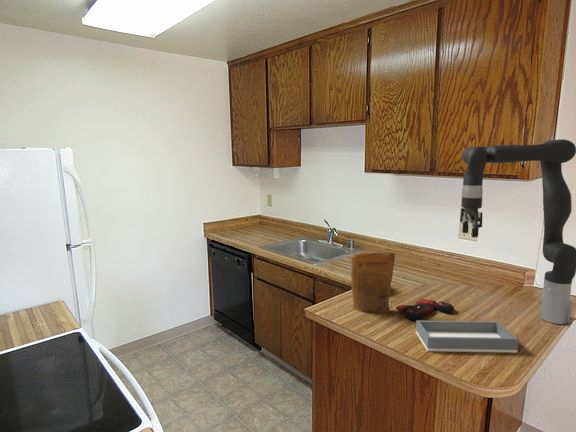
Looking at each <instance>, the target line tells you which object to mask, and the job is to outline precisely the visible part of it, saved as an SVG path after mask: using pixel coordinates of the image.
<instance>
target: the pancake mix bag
mask: <svg viewBox="0 0 576 432" xmlns="http://www.w3.org/2000/svg"><path fill="white" fill-rule="evenodd" d="M395 261H396V253H395V252H389V251H388V252H371V253H370V252H369V253H354V255H351V260H350V264H351V266H350V278H351V281H350V282H351V291H352V302H353V305H352V306H353V307H352V310H355V311H358V312H361V313H370V314H371V313H375V314H377V313H378V314H386V313H387V312H390V304H389V302H390V296H391V285H392V282H393V281H392V280H393V275H394V267H395Z"/></svg>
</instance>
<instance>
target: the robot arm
mask: <svg viewBox="0 0 576 432" xmlns="http://www.w3.org/2000/svg"><path fill="white" fill-rule="evenodd" d="M575 155H576V144H575V143H574V142H572V141H571V140H568V139H564V138H563V139H549V140H546V141H544V142H543V143H539V144H503V145H502V144H501V145H500V144H499V145H498V144H497V145H490V146H478V145H477V146H469V147H467V148H465V149H464V150H463V151H462V153H461V158H462V160H463V162H464V163H466V164H467V169H466V171H464V173H463V180H462V181H463V182H462V189H461V204H460V205H461V208H460V217H459V221H460V223H461V224H462V230H461V231H462V233H463V234H468V233H469V228H470V227H469V224H471V227H472V228H471V237H472V238H478V237H479V229H480V228H482V227H483V212H479V209H481V208H482V207H483V206H482V205H483V193H484V190H483V183H484V182H483V181H484V172H485V168H486V165H487V164H489V163H490V164H507V163H509V164H510V163H520V162H533V161H534V162H535V161H537V162H538V161H539V164H540V170H541V176H542V177H541V178H542V207H543V239H542V240H543V241H542V242H543V243H542V256H543V258H544V259H545V260H546V261H548V262H549V263H552V264H553V266H552V270H548V271H546V272H545V273H544V276H543V277H544V278H543V288H542V298H541V299H542V300H541V307H540V316H539V317H540V318H541V320H543V321H545V322H548V323H551V324H557V325H565V324H567V323H570V322H571V317H572V306H573V300H572V299H571V295H572V294H571V293H572V284H573V280H574V278H575V275H576V247H575V246H573V245H570V244H568V243H565V242H564V236H563V232H564V228H565V225H566V223H567V221H568V219H569V218H570V216H571V213H572V207H573V206H572V194H571V191H570V189H569V186H568V184H567V182H566V180H565V179H564V176H563V171H562V169H563V168H562V166H563V165H562V164H565V163H568V162H569V161H570V160H572V159H574V157H575Z"/></svg>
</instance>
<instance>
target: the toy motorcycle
mask: <svg viewBox="0 0 576 432" xmlns="http://www.w3.org/2000/svg"><path fill="white" fill-rule="evenodd" d="M395 309H396V310H397V311H398V312H400V313H401V312H403V311H404V315H405V317H406V318H407V319H409V320H411V321H416V320H419V321H423V320H425V316H427V315H430V314H431V313H432V312H433V311H434V310H437V311H439V312H441V313H447V314H449V313H450V314H451V313H453V312H454V311H455V307H454V305H452V304H451V303H450V302H446V301H436V300H433V299H425V298H419V300H417V301H416V302H415V304H399V305H397V306H395Z"/></svg>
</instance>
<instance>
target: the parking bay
mask: <svg viewBox="0 0 576 432" xmlns="http://www.w3.org/2000/svg"><path fill="white" fill-rule="evenodd" d="M415 322H416V324H415V334H416V335H417V337H418V338H419V340H420V342H421V343H422V344H423V346H424V348H425V349H426V351H427V352H451V353H452V352H453V353H454V352H459V353H461V352H462V353H463V352H465V353H510V354H511V353H516V354H517V353H518V350H519V347H518V346H519V339H518V338H517V336H516V335H514V334H513V333H512V332H511V331H510V330H509V329H507V328H506V327H505V326H504V325H503V324H501V323H500V322H499V321H495V320H494V321H490V320H489V321H488V320H486V321H484V320H482V321H480V320H479V321H477V320H471V321H470V320H415Z"/></svg>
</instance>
